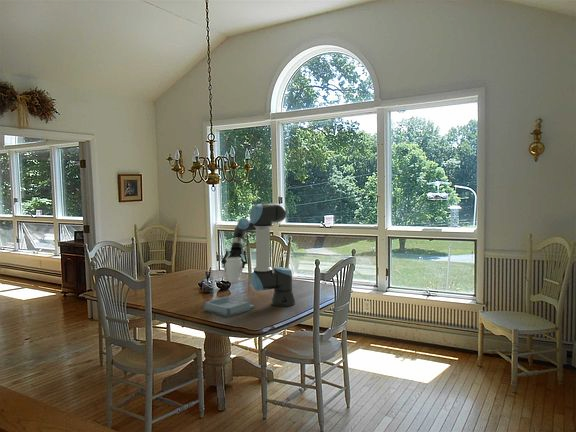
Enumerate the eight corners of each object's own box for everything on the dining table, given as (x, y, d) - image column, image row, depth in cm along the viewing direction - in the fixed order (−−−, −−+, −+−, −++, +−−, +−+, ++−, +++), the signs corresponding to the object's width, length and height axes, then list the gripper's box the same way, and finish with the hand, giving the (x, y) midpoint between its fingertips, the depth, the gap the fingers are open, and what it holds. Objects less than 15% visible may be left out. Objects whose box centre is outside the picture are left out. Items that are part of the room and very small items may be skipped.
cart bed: (256, 307, 273) (255, 300, 273) (228, 316, 255) (228, 308, 255) (232, 302, 287) (231, 294, 287) (204, 310, 270) (204, 302, 269)
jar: (226, 282, 289) (225, 259, 288) (225, 279, 299) (225, 257, 298) (242, 281, 291) (242, 258, 290) (241, 278, 301) (240, 256, 300)
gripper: (254, 248, 307) (250, 275, 293) (222, 248, 310) (217, 275, 295) (252, 242, 302) (249, 268, 287) (219, 242, 304) (214, 268, 290)
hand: (232, 272), depth 291 cm, fingers closed on jar, 10 cm apart
